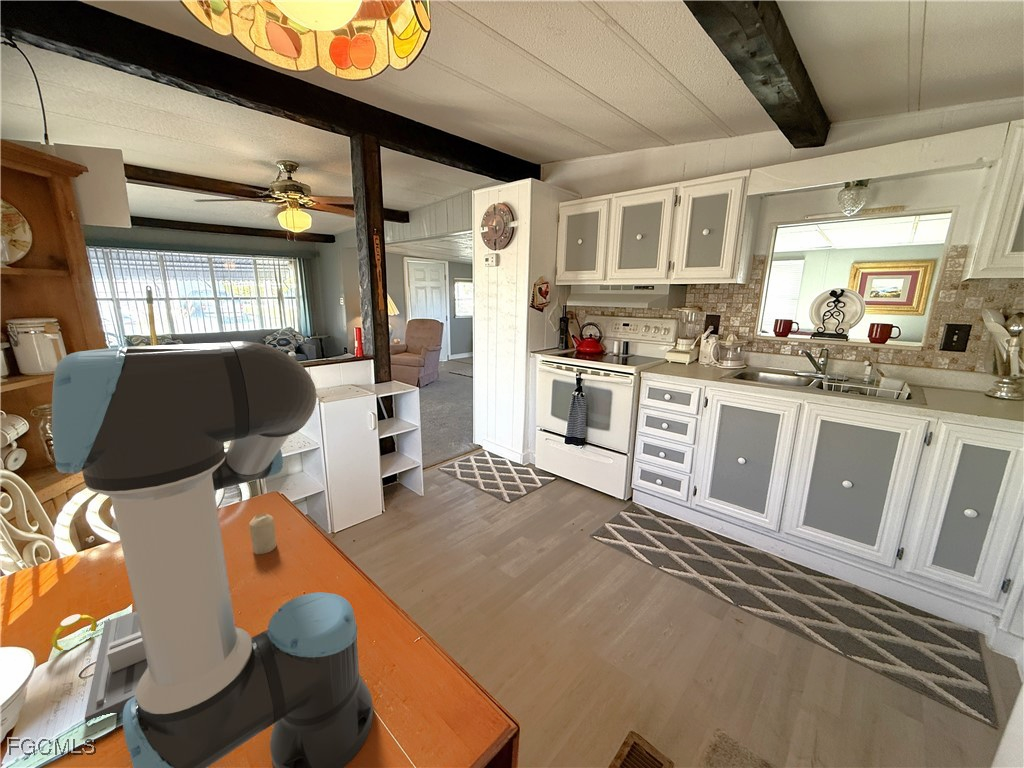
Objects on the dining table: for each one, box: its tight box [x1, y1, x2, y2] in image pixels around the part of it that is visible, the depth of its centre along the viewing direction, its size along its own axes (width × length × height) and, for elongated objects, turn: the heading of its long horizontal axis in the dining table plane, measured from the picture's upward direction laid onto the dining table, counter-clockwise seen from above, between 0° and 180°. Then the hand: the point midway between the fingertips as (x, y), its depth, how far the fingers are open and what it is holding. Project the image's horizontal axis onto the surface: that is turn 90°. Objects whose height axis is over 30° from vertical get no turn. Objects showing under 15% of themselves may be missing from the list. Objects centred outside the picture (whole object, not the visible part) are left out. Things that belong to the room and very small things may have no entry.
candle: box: [248, 512, 277, 555], centre depth 108 cm, size 6×6×10 cm
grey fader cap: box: [107, 631, 147, 673], centre depth 73 cm, size 3×5×4 cm, turn 130°
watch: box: [50, 613, 98, 652], centre depth 78 cm, size 6×3×6 cm, turn 156°
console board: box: [84, 610, 148, 724], centre depth 78 cm, size 24×18×3 cm
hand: (185, 608), depth 84 cm, fingers closed
